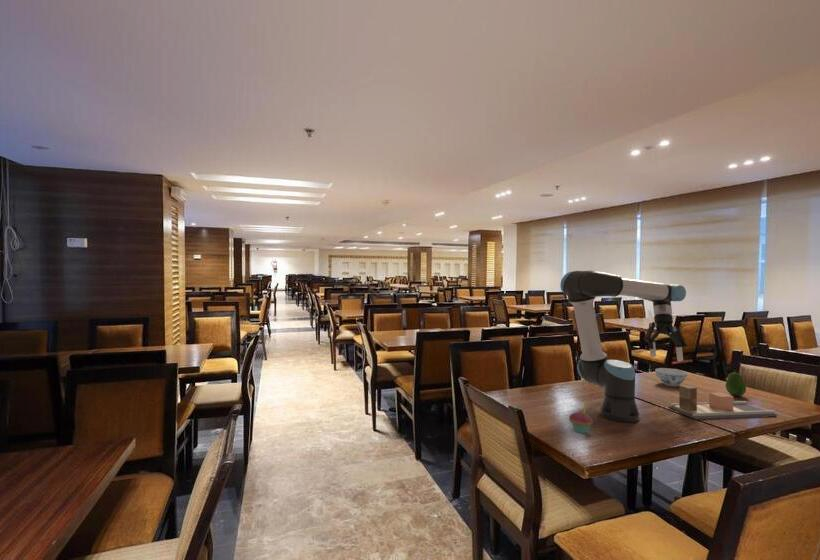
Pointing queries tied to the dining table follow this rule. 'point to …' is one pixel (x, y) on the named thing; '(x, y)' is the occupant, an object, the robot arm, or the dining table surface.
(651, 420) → the dining table surface
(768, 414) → the board
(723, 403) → the block
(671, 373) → the chinaware
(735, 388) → the green bumpy rounded piece
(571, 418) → the cupcake
